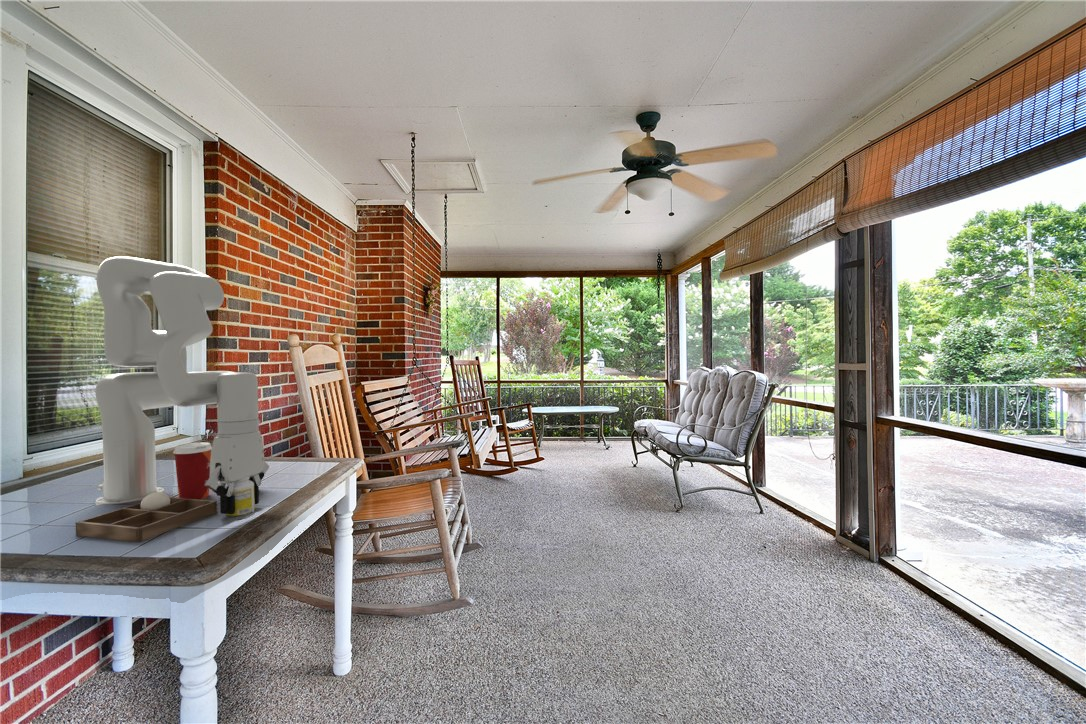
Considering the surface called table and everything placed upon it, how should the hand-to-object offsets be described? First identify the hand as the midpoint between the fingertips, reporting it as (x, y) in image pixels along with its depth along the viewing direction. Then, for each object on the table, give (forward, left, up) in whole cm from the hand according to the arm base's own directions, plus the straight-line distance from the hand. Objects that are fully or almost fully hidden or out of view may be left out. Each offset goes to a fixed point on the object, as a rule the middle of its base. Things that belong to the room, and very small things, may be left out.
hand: (240, 507), depth 99 cm
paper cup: (-20, +6, -2) cm, 21 cm away
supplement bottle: (0, 0, -2) cm, 2 cm away
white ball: (-17, -5, -1) cm, 18 cm away
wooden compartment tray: (-13, -9, -2) cm, 16 cm away
